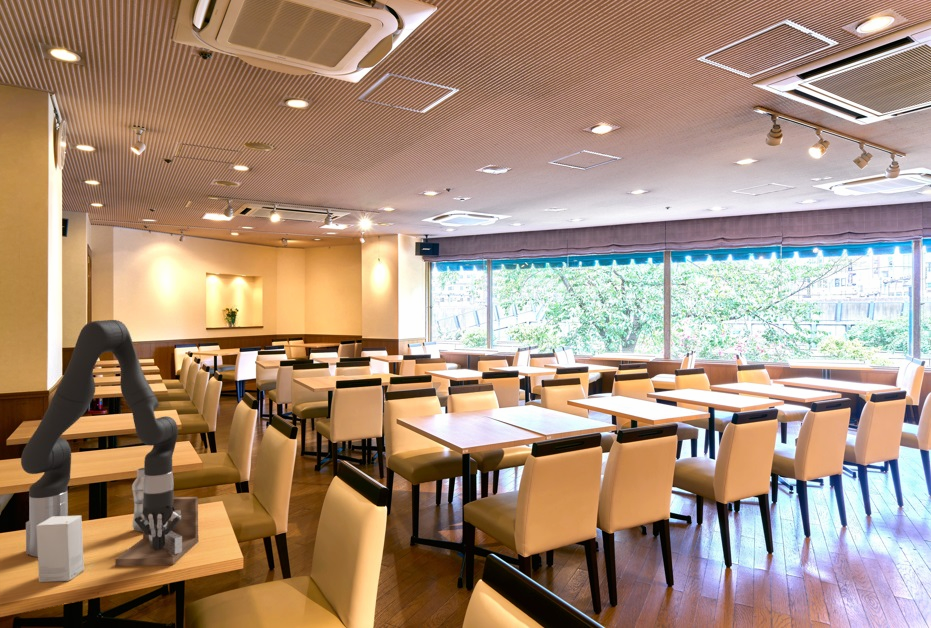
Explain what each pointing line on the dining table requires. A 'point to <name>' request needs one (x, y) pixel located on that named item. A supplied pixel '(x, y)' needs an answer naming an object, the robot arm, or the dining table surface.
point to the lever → (171, 542)
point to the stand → (148, 556)
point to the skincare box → (60, 548)
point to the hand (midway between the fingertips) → (158, 548)
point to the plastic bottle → (138, 497)
